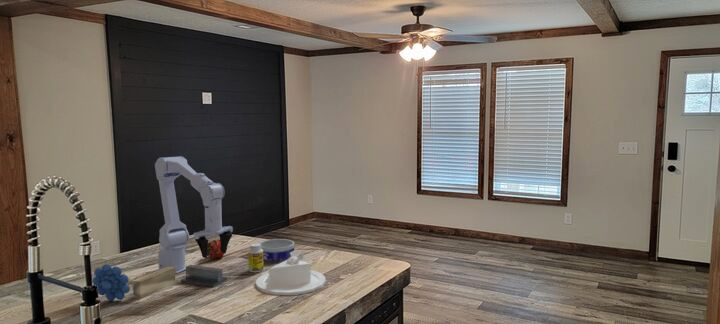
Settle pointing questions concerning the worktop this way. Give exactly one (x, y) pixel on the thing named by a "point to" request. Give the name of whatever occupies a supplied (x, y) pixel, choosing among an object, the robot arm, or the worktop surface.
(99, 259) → the worktop surface
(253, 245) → the supplement bottle
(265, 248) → the dog bowl
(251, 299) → the worktop surface
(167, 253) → the robot arm
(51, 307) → the worktop surface
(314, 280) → the dish
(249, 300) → the worktop surface
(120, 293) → the grapes
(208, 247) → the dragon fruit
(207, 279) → the balance ridge
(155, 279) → the maple bar
